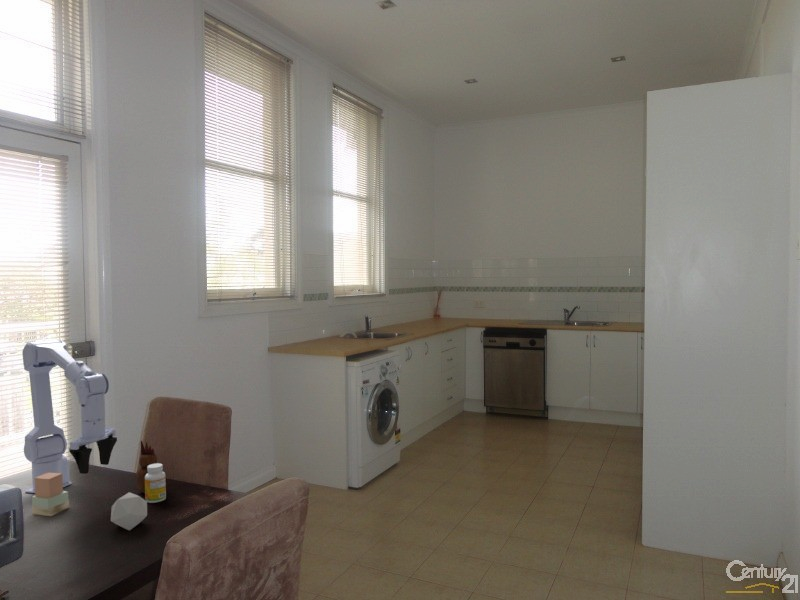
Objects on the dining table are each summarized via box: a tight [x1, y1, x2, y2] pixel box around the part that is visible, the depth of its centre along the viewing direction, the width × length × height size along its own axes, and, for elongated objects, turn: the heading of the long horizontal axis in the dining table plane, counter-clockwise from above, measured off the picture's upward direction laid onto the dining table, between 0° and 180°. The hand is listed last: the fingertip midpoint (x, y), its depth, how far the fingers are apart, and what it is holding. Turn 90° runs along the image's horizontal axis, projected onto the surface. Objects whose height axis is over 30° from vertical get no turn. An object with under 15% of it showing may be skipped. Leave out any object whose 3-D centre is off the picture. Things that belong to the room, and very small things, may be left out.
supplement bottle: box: [144, 462, 167, 504], centre depth 166 cm, size 5×5×10 cm
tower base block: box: [31, 500, 70, 517], centre depth 159 cm, size 6×6×2 cm
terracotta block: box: [34, 472, 64, 498], centre depth 159 cm, size 4×4×5 cm
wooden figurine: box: [135, 440, 158, 494], centre depth 172 cm, size 7×6×15 cm
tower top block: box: [31, 490, 70, 509], centre depth 159 cm, size 6×6×2 cm
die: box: [110, 491, 148, 532], centre depth 149 cm, size 8×9×10 cm
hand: (94, 468), depth 161 cm, fingers open, 7 cm apart
